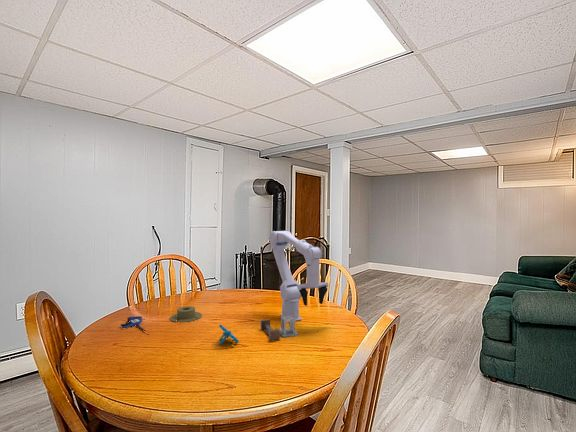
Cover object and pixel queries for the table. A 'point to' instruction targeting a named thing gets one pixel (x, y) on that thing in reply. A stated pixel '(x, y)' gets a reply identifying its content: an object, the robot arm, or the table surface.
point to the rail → (270, 330)
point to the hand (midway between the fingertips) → (313, 304)
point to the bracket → (291, 324)
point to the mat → (288, 333)
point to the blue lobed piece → (227, 335)
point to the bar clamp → (133, 322)
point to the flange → (186, 314)
